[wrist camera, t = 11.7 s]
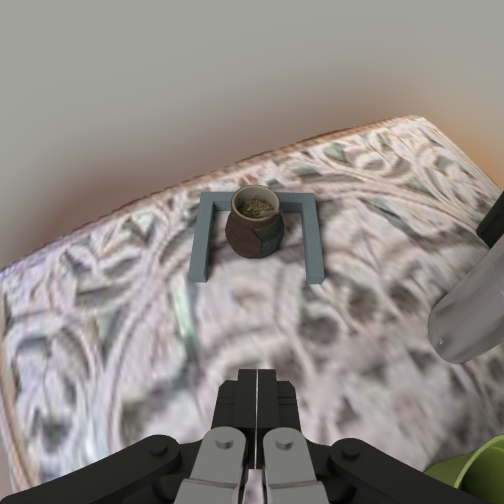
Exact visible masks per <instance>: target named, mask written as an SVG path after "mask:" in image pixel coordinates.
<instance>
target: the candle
mask: <svg viewBox="0 0 504 504" xmlns="http://www.w3.org/2000/svg"><path fill="white" fill-rule="evenodd" d="M476 232H477V235H478V236H479V237H481V238H482V239H483V240H484V241H485V242H486V243H487V244H488V245H489V247H490V248H492V247H493V246H494V245H495V244H496V242H497V241H498V240H499V239H500V238H501V237H502V235H503V234H504V191H503V193H502V194H501V195H500V197H499V198H498V200H497V201H496V203H495V204H494V206H493V207H492V208H491V210H490V211H489V212H488V214H487V215H486V217H485V218H484V219H483V221H482V222H481V223H480V225H479V226H478V228H477V230H476Z"/></svg>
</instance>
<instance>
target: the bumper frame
mask: <svg viewBox="0 0 504 504" xmlns="http://www.w3.org/2000/svg"><path fill="white" fill-rule="evenodd" d="M234 193H235V192H201V198H200V204H199V209H198V216H197V222H196V228H195V234H194V241H193V247H192V254H191V261H190V268H189V276H190V279H191V282H206V278H207V268H208V259H209V250H210V241H211V233H212V225H213V216H214V211H231V199H232V196H233V195H234ZM275 193H276V194H277V195H278V197H279V199H280V203H281V207H280V210H281V209H282V212H301V220H302V231H303V242H304V253H305V265H306V278H307V284H322V281H323V279H324V276H325V275H324V266H323V258H322V249H321V241H320V234H319V226H318V219H317V212H316V205H315V198H314V194H312V193H281V192H275Z"/></svg>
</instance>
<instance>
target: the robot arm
mask: <svg viewBox="0 0 504 504" xmlns="http://www.w3.org/2000/svg"><path fill="white" fill-rule="evenodd" d="M428 333H429V337H430V341H431V343H432V345H433V347H434V349H435V350H436V352H437V353H438V354H439V355H440V356H441V357H442V358H443V359H445V360H446V361H448V362H451V363H454V364H461V363H465V362H467V361H469V360H471V359H473V358H475V357H477V356H479V355H481V354H482V353H484V352H486V351H488V350H490V349H492V348H493V347H495V346H497V345H498V344H500V343H502V342H503V341H504V234H503V235H502V237H501V238H500V239H499V240H498V241H497V242H496V244H495V245H494V246H493V247H492V248H491V249H490V251H489V252H488V253H487V254H486V255H485V256H484V257H483V258H482V259H481V260H480V261H479V263H478V264H477V265H476V266H475V267H474V268H473V269H472V270H471V271H470V272H469V273H468V274H467V275H466V276H465V277H464V278H463V279H462V280H461V281H460V282H459V283H458V284H457V285H456V286H455V287H454V288H453V289H452V290H451V291H450V292H449V293H448V294H447V295H446V296H445V297H443V298H442V299H441V300H440V301H439V302H438V303H437V304H436V305H435V306H434V307H433V309H432V311H431V313H430V316H429V319H428ZM256 381H257V369H239V372H238V381H233V380H226V381H225V382H224V383H223V384H222V385H221V386H220V387H219V391H218V397H217V401H216V406H215V411H214V416H213V421H212V426H211V430H210V431H208V432H207V433H206V434H205V435H204V438H203V439H202V440H199V441H197V442H193V443H186V444H178V442H177V441H176V440H175V439H173V438H172V437H170V436H166V435H152V436H149V437H146V438H144V439H142V440H141V441H139V442H137V443H135V444H133V445H131V446H129V447H127V448H125V449H123V450H121V451H118V452H116V453H114V454H112V455H110V456H108V457H106V458H104V459H101V460H99V461H97V462H95V463H93V464H90V465H88V466H86V467H84V468H81V469H79V470H77V471H74V472H72V473H69V474H67V475H64V476H62V477H59V478H57V479H54V480H52V481H49V482H46V483H44V484H41V485H38V486H36V487H33V488H30V489H27V490H24V491H21V492H18V493H15V494H12V495H9V496H6V497H5V498H3V499H2V500H1V501H0V504H244V498H245V492H246V484H247V481H248V473H249V469H254V465H255V432H256ZM256 469H262V483H261V488H262V498H263V504H494V503H491V502H489V501H486V500H483V499H481V498H478V497H476V496H473V495H471V494H469V493H466V492H464V491H461V490H459V489H457V488H455V487H452V486H450V485H448V484H446V483H443V482H441V481H439V480H437V479H435V478H433V477H431V476H428V475H426V474H424V473H422V472H420V471H418V470H416V469H414V468H412V467H410V466H408V465H406V464H404V463H402V462H401V461H399V460H397V459H395V458H393V457H391V456H389V455H387V454H386V453H384V452H382V451H380V450H378V449H376V448H375V447H373V446H371V445H369V444H368V443H366V442H364V441H362V440H359V439H355V438H345V439H341V440H338V441H337V442H335V443H334V444H333V445H332V446H326V445H320V444H316V443H313V442H311V441H309V440H308V439H306V438H305V437H304V435H303V434H302V432H301V427H300V420H299V413H298V406H297V399H296V393H295V388H294V387H293V385H292V384H291V383H290V382H289V381H277V379H276V369H258V402H257V454H256Z"/></svg>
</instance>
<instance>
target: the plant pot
mask: <svg viewBox="0 0 504 504" xmlns="http://www.w3.org/2000/svg"><path fill="white" fill-rule="evenodd" d="M424 474H426V475H428V476H431V477H433V478H435V479H437V480H439V481H441V482H443V483H446V484H448V485H450V486H452V487H455V488H457V489H459V490H461V491H464V492H466V493H469V494H471V495H473V496H476V497H478V498H481V499H483V500H486V501H489V502H491V503H494V504H504V434H501V435H498V436H496V437H494V438H492V439H490V440H489V441H487V442H486V443H484V444H483V445H482V446H481V447H480V448H478V449H476V450H475V451H473V452H471V453H468V454H465V455H462V456H459V457H456V458H453V459H449V460H446V461H442V462H439V463H436V464H434V465H433V466H432V467H430V468H429V469H428V470H426V471H425V472H424Z"/></svg>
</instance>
